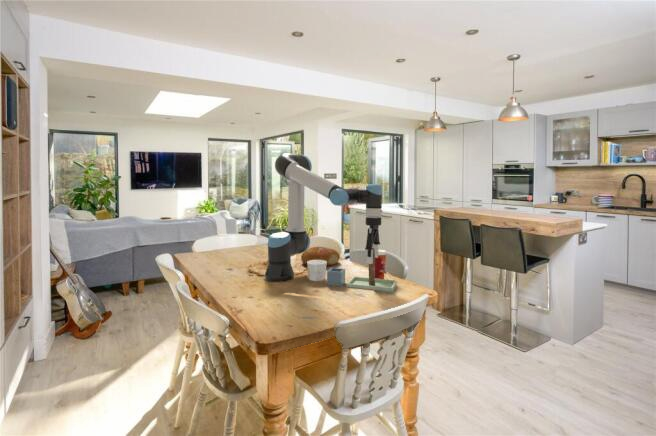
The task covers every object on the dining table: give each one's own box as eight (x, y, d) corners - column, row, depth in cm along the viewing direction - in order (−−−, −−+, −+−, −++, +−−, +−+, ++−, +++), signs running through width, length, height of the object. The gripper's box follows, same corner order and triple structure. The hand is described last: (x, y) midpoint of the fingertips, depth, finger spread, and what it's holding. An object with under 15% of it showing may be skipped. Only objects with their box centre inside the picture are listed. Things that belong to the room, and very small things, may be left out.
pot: (327, 287, 191) (327, 271, 190) (331, 283, 197) (331, 267, 196) (341, 288, 188) (341, 272, 187) (345, 284, 195) (345, 268, 194)
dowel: (368, 285, 190) (367, 248, 189) (369, 283, 193) (369, 247, 191) (374, 285, 189) (374, 249, 188) (375, 284, 192) (375, 248, 190)
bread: (339, 268, 228) (340, 251, 227) (299, 267, 228) (299, 251, 227) (339, 259, 251) (339, 244, 250) (302, 259, 251) (302, 243, 250)
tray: (346, 288, 188) (346, 283, 188) (353, 281, 201) (353, 276, 201) (392, 293, 181) (392, 288, 181) (396, 285, 195) (396, 280, 194)
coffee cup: (385, 281, 202) (386, 252, 200) (369, 280, 203) (370, 251, 201) (386, 277, 210) (387, 249, 208) (371, 276, 211) (371, 248, 210)
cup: (329, 279, 204) (329, 261, 203) (321, 284, 195) (321, 265, 194) (312, 277, 208) (312, 259, 207) (303, 282, 199) (303, 263, 198)
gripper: (376, 220, 174) (375, 266, 177) (385, 214, 198) (384, 255, 200) (359, 219, 177) (358, 265, 179) (371, 213, 200) (370, 254, 203)
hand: (372, 260), depth 190 cm, fingers open, 13 cm apart
